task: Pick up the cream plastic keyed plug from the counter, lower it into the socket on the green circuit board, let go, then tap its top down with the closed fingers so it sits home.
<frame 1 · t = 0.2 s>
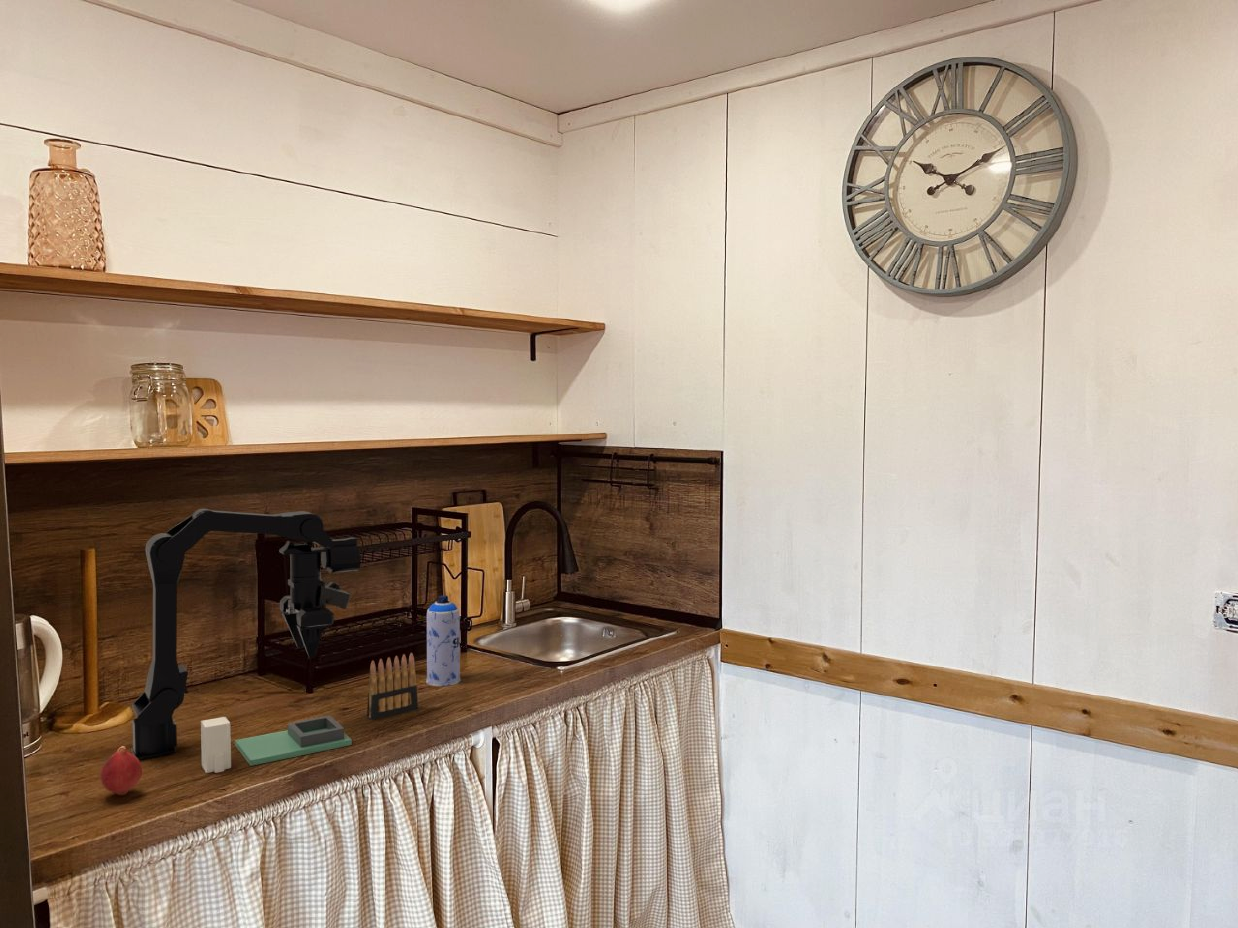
hand: (306, 652, 179), 14 cm above the countertop, fingers open, 9 cm apart
plug: (216, 766, 157), on the countertop
ammunition clip: (392, 714, 186), on the countertop
onion: (122, 796, 145), on the countertop
aerosol can: (443, 682, 209), on the countertop
board: (293, 744, 168), on the countertop
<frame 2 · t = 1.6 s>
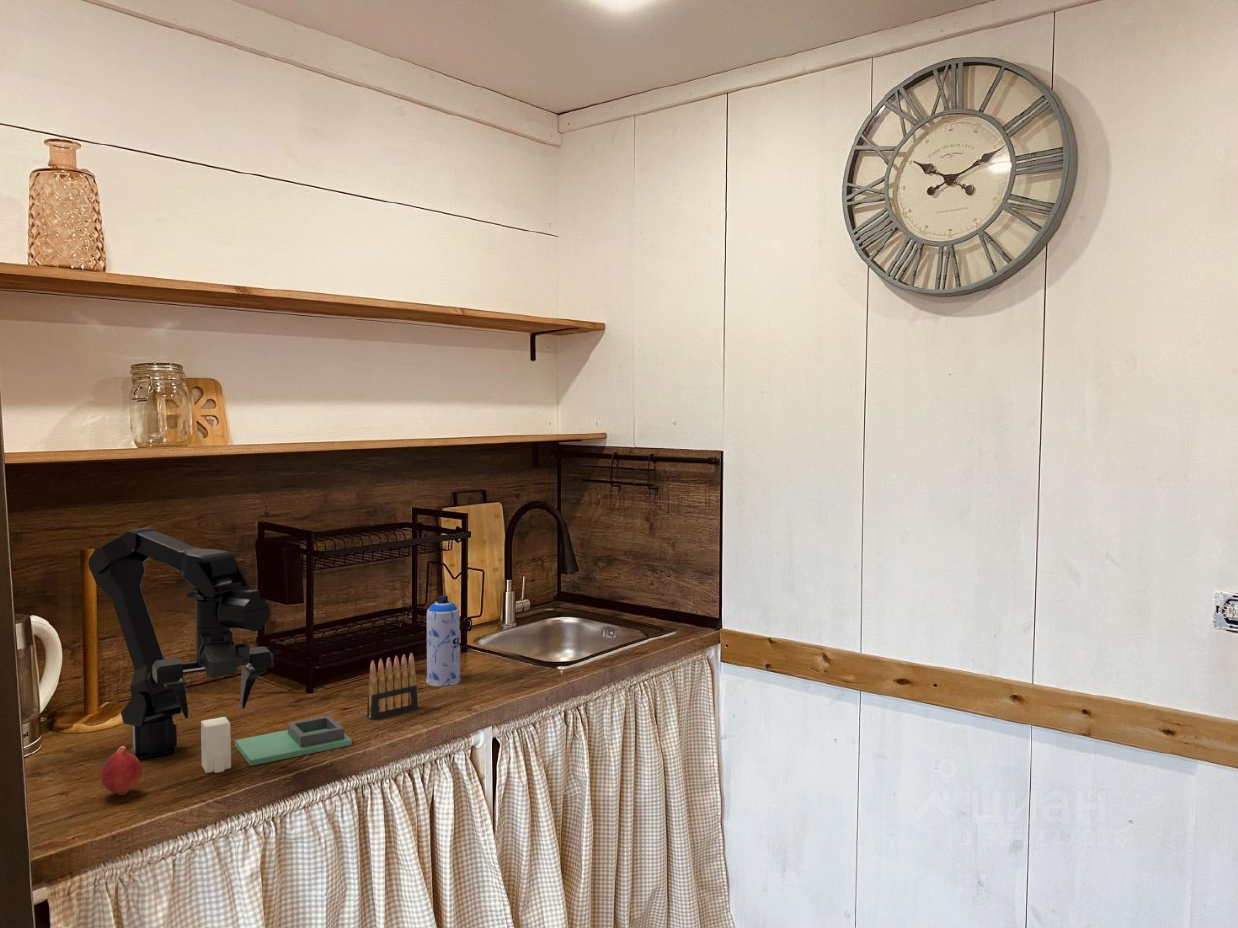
hand: (215, 712, 157), 10 cm above the countertop, fingers open, 9 cm apart
nothing on the countertop moved.
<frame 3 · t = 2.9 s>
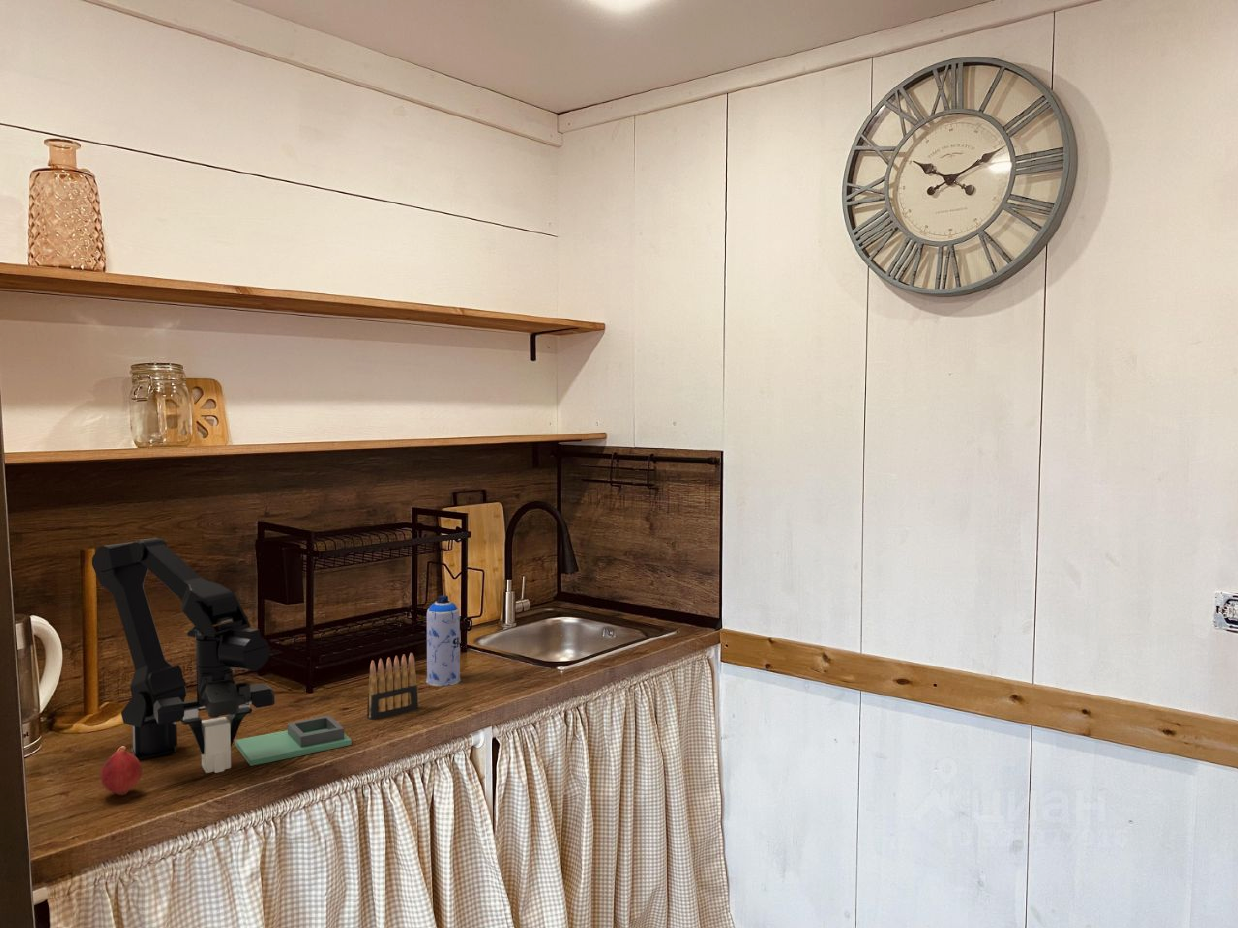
hand: (216, 750, 157), 3 cm above the countertop, fingers closed on plug, 4 cm apart
plug: (216, 766, 157), on the countertop, touching gripper
everything else where it was.
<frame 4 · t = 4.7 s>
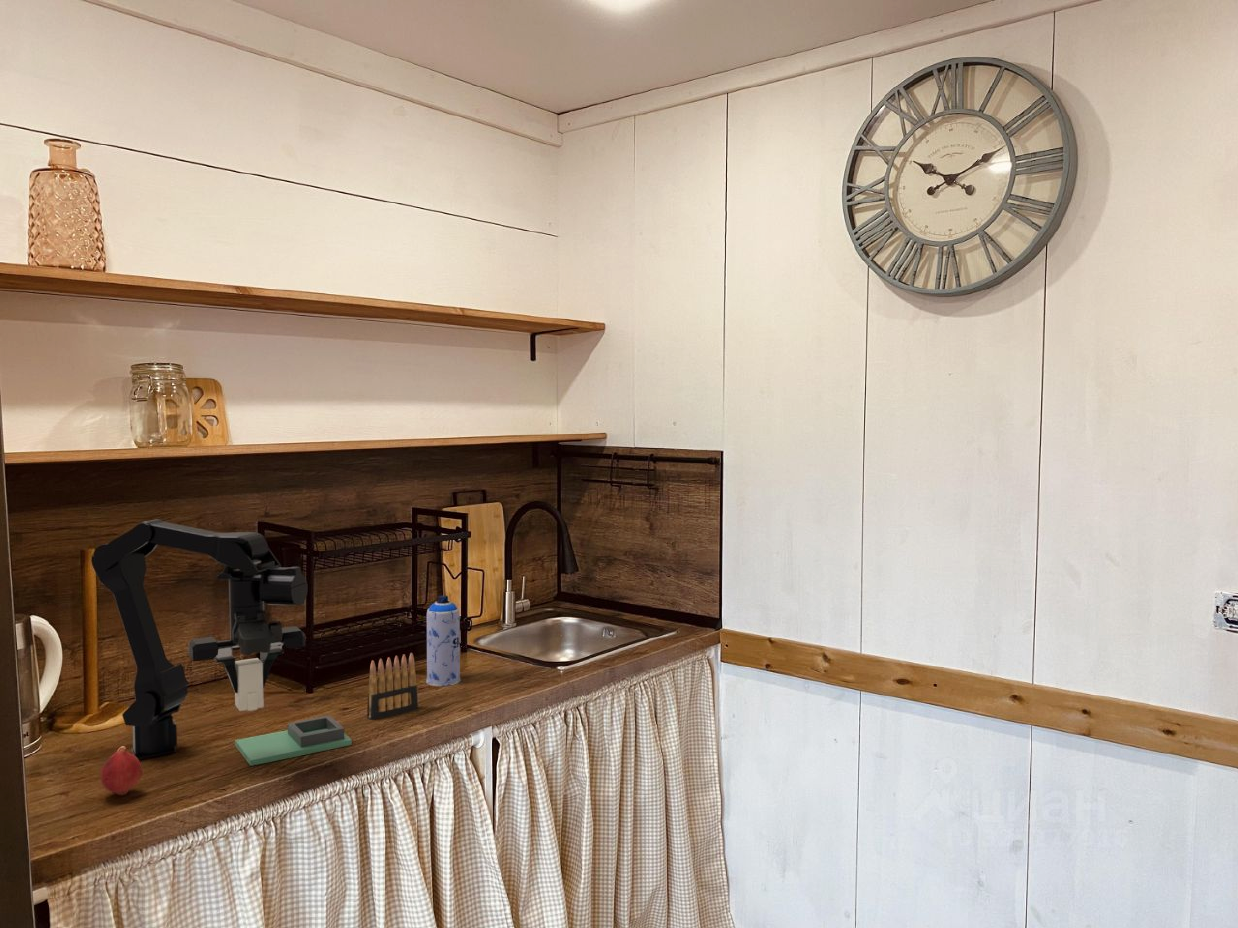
hand: (249, 690, 160), 12 cm above the countertop, fingers closed on plug, 4 cm apart
plug: (249, 706, 160), point 10 cm above the countertop, touching gripper
everything else where it was.
when the fingers open (5 cm above the countertop, at t = 6.9 s): plug stays where it is, resting on board.
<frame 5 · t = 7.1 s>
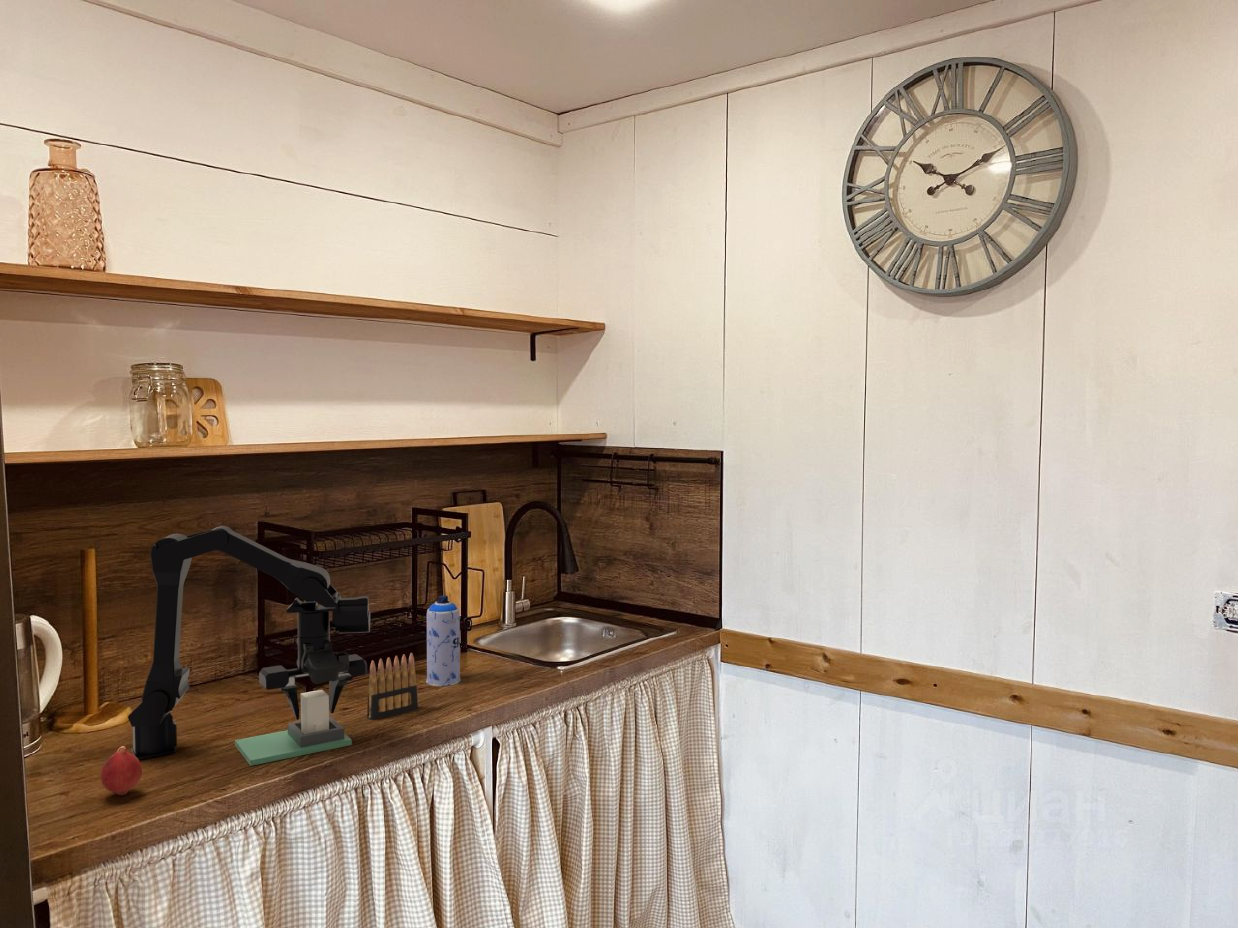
hand: (314, 715, 170), 5 cm above the countertop, fingers open, 6 cm apart
plug: (315, 735, 170), point 1 cm above the countertop, touching board
everything else where it was.
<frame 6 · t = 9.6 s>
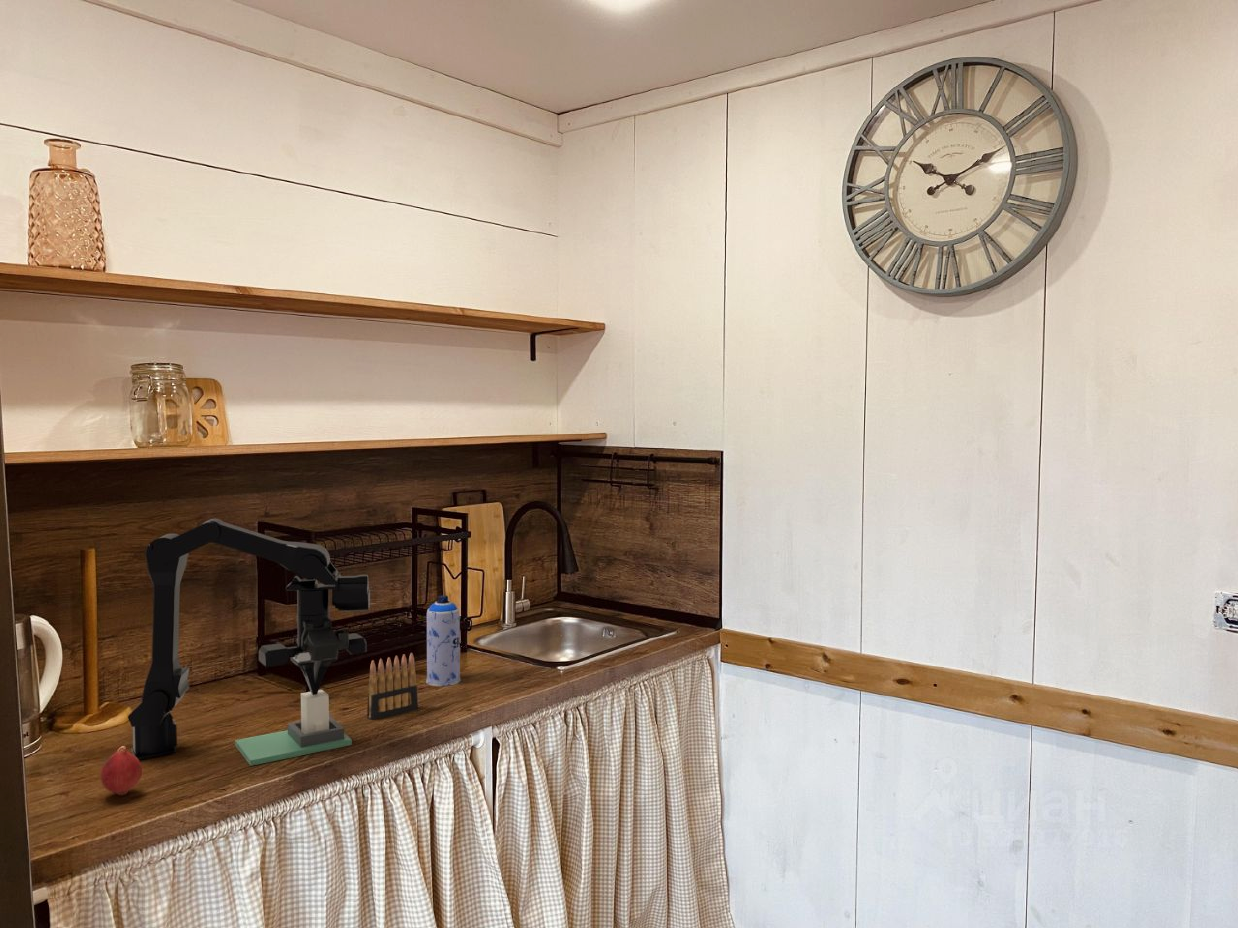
hand: (314, 694, 169), 9 cm above the countertop, fingers closed, pressing on plug
plug: (315, 735, 170), point 1 cm above the countertop, touching board, gripper
everything else where it was.
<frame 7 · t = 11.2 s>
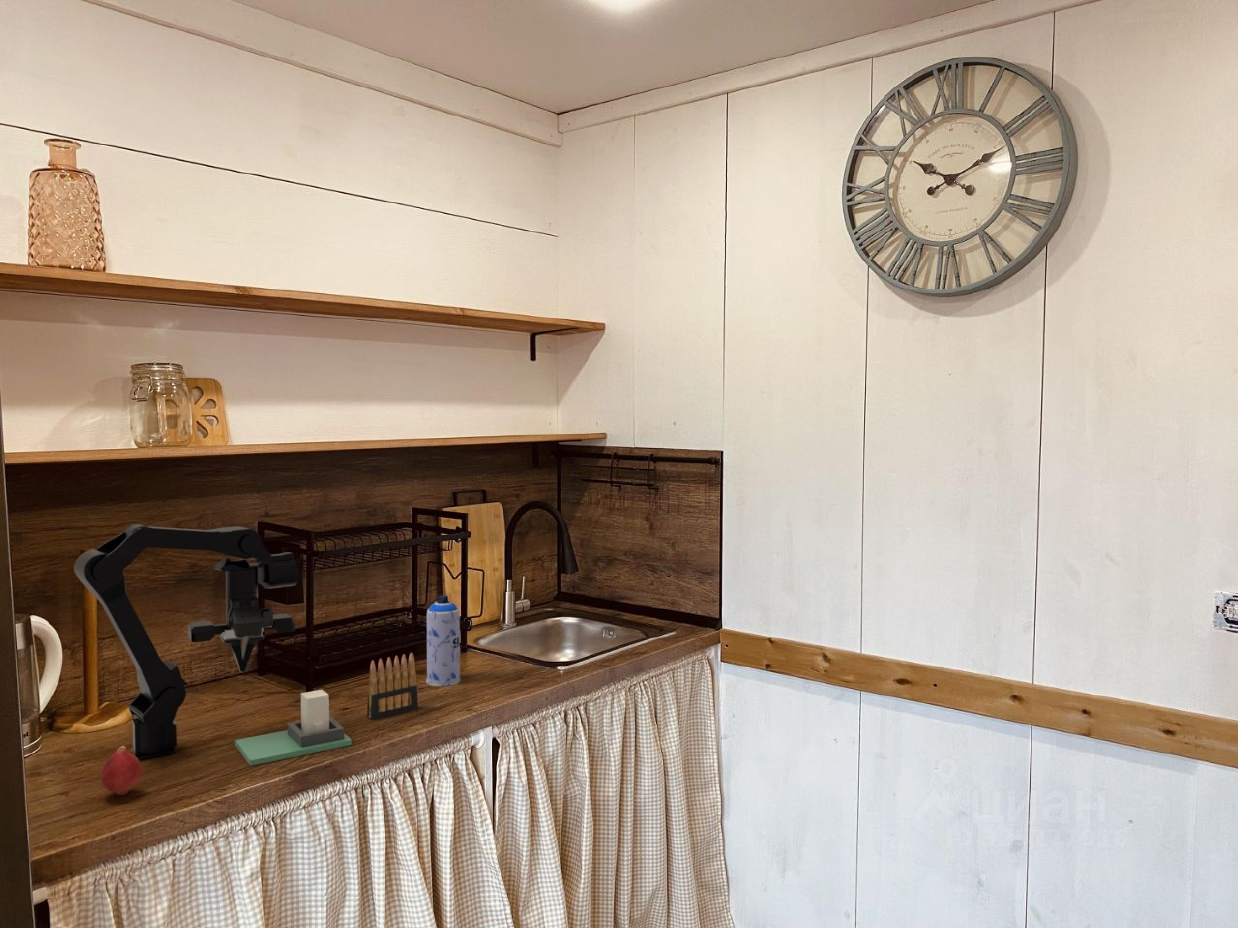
hand: (242, 670, 175), 12 cm above the countertop, fingers closed
plug: (315, 735, 170), point 1 cm above the countertop, touching board
everything else where it was.
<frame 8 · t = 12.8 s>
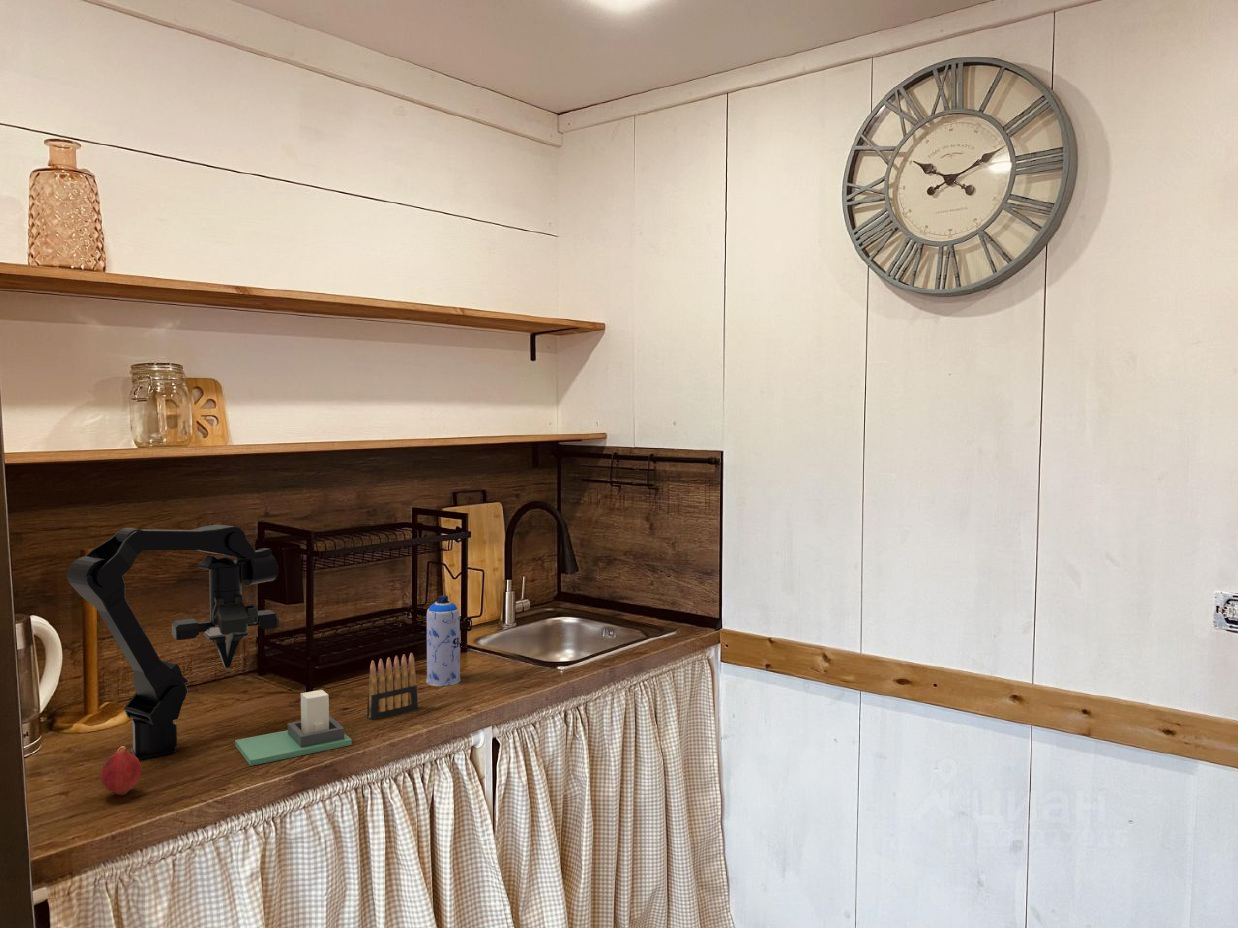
hand: (227, 667, 176), 12 cm above the countertop, fingers closed
nothing on the countertop moved.
at the end: plug 0.1 cm from the target spot on the board, point 1.0 cm above the board's base; plug tilted 0°; the gripper is holding nothing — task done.
